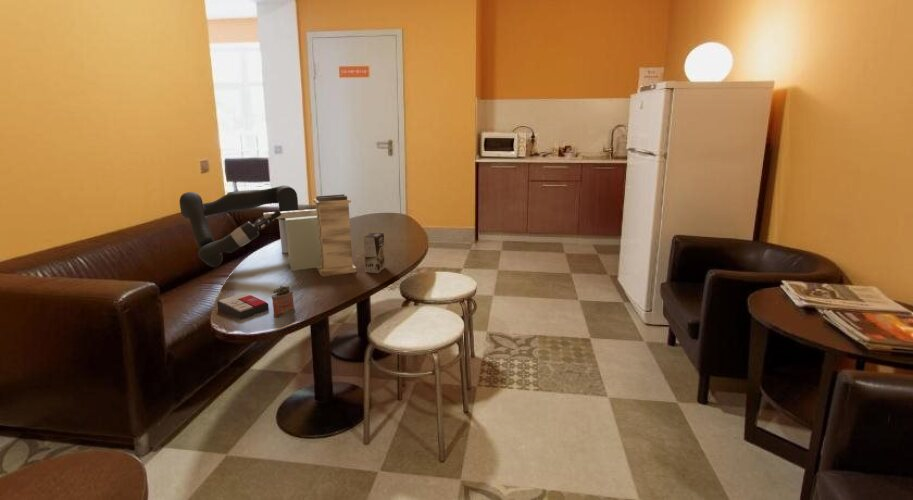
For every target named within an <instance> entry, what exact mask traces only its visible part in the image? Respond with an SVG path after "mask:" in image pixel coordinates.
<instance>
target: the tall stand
mask: <svg viewBox="0 0 913 500" xmlns="http://www.w3.org/2000/svg"><path fill="white" fill-rule="evenodd" d="M312 200H313V203H315V209H316V211H317V224H318V236H319V249H320V261H321V265H317V268H316V269H317V271H318V273H319V274H320V276H321V277H322V276H323V277H329V276H330V275H331V276H336V275H346V274H351V273H357V267H356V266H355V264H354V263H353V252H352V239H351V238H352V237H351V236H352V235H351V222H350V221H351V220H350V207H349V206H350V205H349V203H352V200H351V199H349V198H348V195H346V194H345V193H344V194H343V193H342V194H329V195H328V194H327V195H316V196H315V198H313V199H312Z"/></svg>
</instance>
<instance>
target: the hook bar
mask: <svg viewBox="0 0 913 500" xmlns="http://www.w3.org/2000/svg"><path fill="white" fill-rule="evenodd" d="M273 213H275V212H274V211H272V212H270V211H269V212H263V216H264V218H265V217H266V218H267V217H268V216H270V215H272V214H273ZM280 213H281V215H280V216H279V217H277V218H276V219H277V220H279V219H280V218H293V217H307V216H317V211H316V208H312V209H298V210H296V211H282V212H280ZM276 219H275V220H276Z"/></svg>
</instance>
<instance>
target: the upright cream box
mask: <svg viewBox="0 0 913 500" xmlns="http://www.w3.org/2000/svg"><path fill="white" fill-rule="evenodd" d="M285 225H286V235H287V245H288V253H287V254H288V262H289V263H288V265H289V267H290V269H291V271H292V272H293V271H300V270H301V269H302V270H309V268H310V269H317V265H321V261H320V249H319V236H318V224H317V216H306V217H295V218H285ZM302 270H301V271H302Z"/></svg>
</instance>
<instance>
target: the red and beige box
mask: <svg viewBox="0 0 913 500" xmlns="http://www.w3.org/2000/svg"><path fill="white" fill-rule="evenodd" d="M216 304H217V311H219V312H221V313H224V314H227V315H229V316H231V317H233V318H235V319H238V320H241V321H242V320H244V319H248V318H250V317H253V316H255V315H259V314H262V313H265V312H268V311H270V309H269V303H268V302H267V301H264V300H262V299H261V298H258V297H256V296H254V295H251V294H248V293H247V292H242V293H239V294H235V295H232V296H228V297H226V298H223V299H219V300H218V301H216Z"/></svg>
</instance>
